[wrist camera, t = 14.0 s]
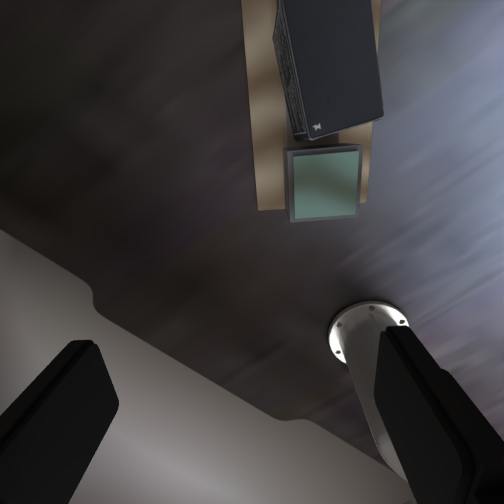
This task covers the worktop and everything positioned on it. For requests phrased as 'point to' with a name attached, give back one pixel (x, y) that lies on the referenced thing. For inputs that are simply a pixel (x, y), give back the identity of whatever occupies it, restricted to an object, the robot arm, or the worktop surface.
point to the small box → (327, 65)
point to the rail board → (303, 151)
